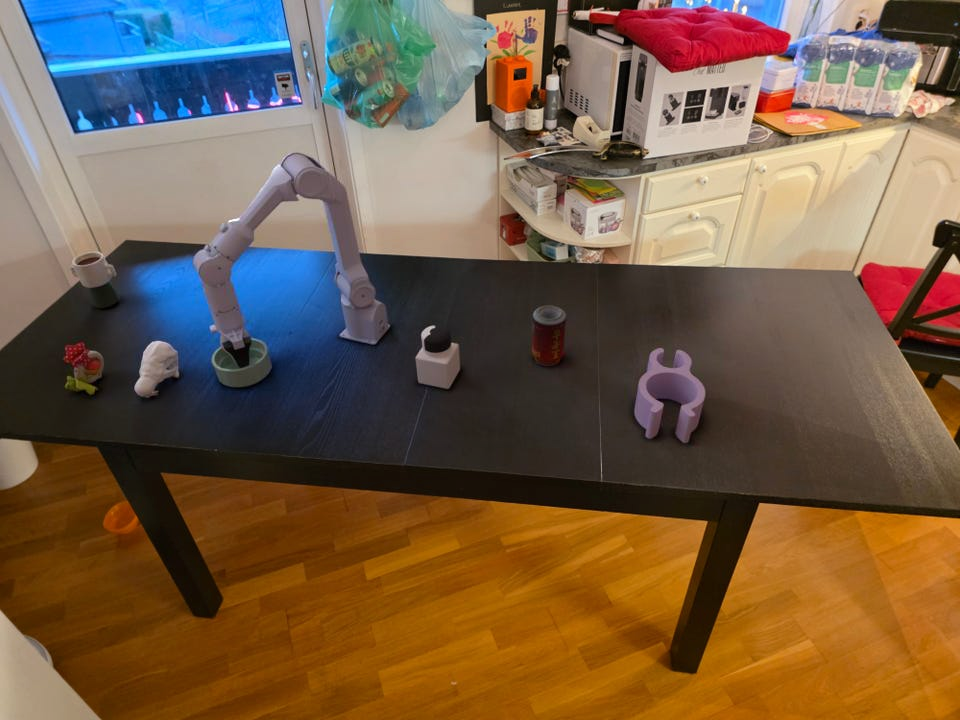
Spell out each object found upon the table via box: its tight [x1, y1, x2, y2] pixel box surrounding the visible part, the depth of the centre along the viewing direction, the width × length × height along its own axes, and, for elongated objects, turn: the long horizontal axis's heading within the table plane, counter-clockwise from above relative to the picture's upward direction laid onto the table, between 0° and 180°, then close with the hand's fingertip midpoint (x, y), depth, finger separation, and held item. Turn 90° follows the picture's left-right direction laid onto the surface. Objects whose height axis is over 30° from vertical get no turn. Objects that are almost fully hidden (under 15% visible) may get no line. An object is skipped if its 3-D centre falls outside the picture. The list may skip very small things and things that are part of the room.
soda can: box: [531, 304, 567, 367], centre depth 142 cm, size 7×7×12 cm
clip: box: [633, 347, 706, 444], centre depth 131 cm, size 20×12×7 cm, turn 169°
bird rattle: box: [62, 342, 105, 395], centre depth 140 cm, size 6×11×9 cm
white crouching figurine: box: [134, 340, 180, 399], centre depth 140 cm, size 6×8×12 cm
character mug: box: [69, 251, 121, 309], centre depth 164 cm, size 11×7×13 cm, turn 88°
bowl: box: [211, 337, 273, 388], centre depth 143 cm, size 12×12×5 cm
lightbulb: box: [219, 329, 251, 369], centre depth 141 cm, size 6×6×11 cm
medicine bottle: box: [415, 324, 461, 390], centre depth 138 cm, size 7×7×12 cm
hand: (240, 357), depth 143 cm, fingers closed on lightbulb, 6 cm apart
